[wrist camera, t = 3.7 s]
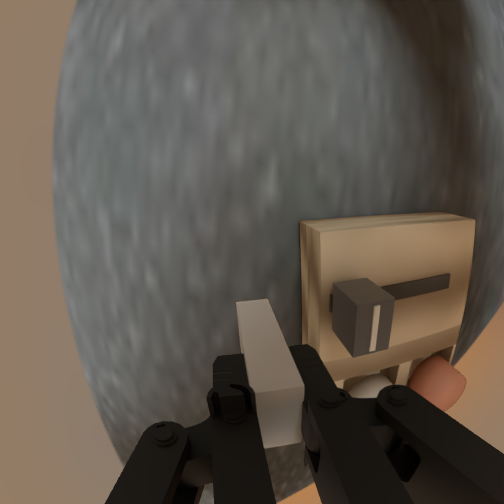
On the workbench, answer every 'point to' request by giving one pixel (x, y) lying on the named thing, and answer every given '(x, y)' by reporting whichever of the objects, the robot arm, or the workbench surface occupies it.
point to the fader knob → (362, 316)
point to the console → (388, 287)
